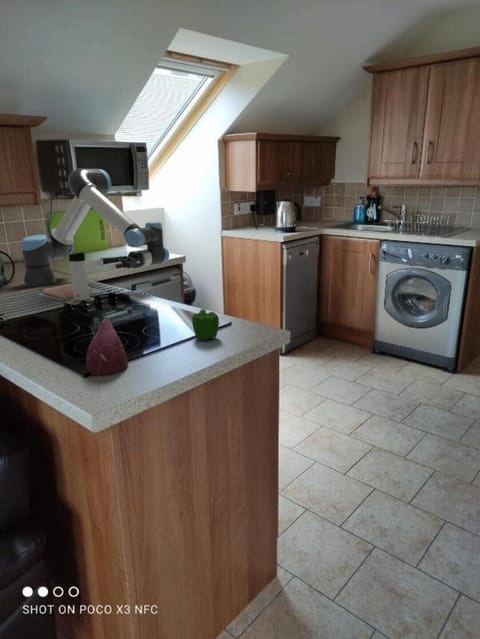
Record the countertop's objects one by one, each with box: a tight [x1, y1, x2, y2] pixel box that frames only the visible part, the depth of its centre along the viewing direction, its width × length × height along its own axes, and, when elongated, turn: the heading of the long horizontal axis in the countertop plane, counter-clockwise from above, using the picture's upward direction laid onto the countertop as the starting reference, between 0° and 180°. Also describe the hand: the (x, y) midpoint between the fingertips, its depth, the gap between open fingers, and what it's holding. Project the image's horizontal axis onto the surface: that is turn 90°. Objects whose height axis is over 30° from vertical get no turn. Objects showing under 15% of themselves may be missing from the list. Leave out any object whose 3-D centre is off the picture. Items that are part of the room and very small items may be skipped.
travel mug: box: [68, 252, 91, 303], centre depth 187 cm, size 6×7×20 cm
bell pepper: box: [191, 308, 220, 341], centre depth 142 cm, size 8×8×10 cm
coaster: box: [65, 296, 95, 306], centre depth 190 cm, size 12×12×1 cm
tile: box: [43, 282, 92, 298], centre depth 206 cm, size 2×16×14 cm
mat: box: [36, 287, 105, 301], centre depth 208 cm, size 22×20×1 cm
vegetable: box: [85, 316, 129, 377], centre depth 122 cm, size 10×10×15 cm
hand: (98, 265), depth 193 cm, fingers open, 13 cm apart
